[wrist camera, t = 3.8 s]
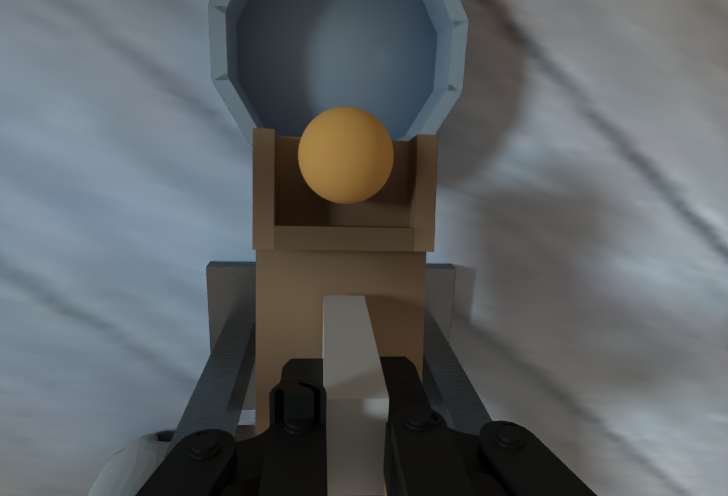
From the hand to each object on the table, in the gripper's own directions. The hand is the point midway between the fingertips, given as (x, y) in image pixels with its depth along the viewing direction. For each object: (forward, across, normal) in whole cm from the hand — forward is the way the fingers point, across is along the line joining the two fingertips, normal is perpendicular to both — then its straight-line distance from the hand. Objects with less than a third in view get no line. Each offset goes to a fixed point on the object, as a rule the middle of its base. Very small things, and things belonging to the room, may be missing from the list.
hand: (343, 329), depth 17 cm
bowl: (+10, 0, +10) cm, 15 cm away
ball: (0, 0, +6) cm, 6 cm away
